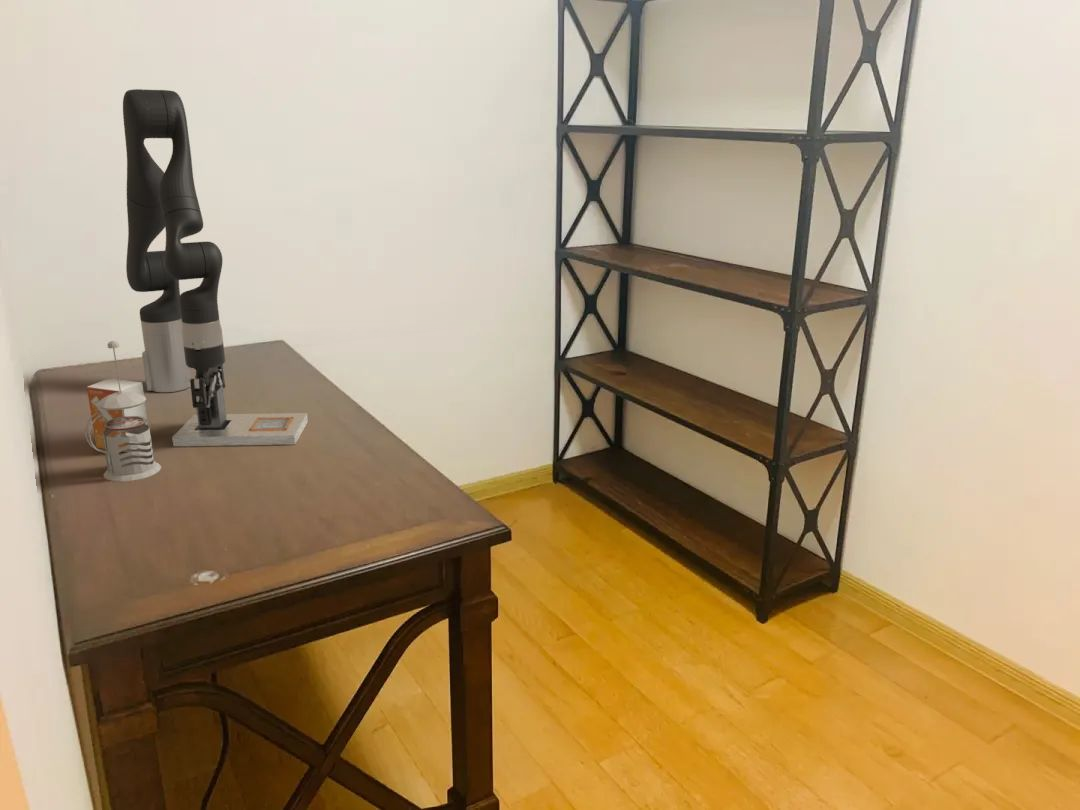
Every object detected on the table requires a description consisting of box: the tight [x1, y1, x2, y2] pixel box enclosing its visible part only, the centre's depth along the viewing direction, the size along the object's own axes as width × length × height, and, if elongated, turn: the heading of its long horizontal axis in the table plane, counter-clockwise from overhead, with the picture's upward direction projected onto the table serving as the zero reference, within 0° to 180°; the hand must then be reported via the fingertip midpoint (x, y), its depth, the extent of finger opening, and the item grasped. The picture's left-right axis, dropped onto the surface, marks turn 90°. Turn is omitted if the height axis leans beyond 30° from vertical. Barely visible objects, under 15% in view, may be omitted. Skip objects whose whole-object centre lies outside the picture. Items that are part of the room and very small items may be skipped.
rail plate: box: [172, 412, 309, 448], centre depth 175 cm, size 24×14×2 cm, turn 95°
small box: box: [86, 378, 149, 453], centre depth 166 cm, size 8×6×13 cm
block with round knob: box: [196, 385, 227, 430], centre depth 173 cm, size 4×4×11 cm
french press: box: [84, 340, 162, 482], centre depth 151 cm, size 10×12×25 cm
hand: (212, 418), depth 174 cm, fingers open, 8 cm apart
